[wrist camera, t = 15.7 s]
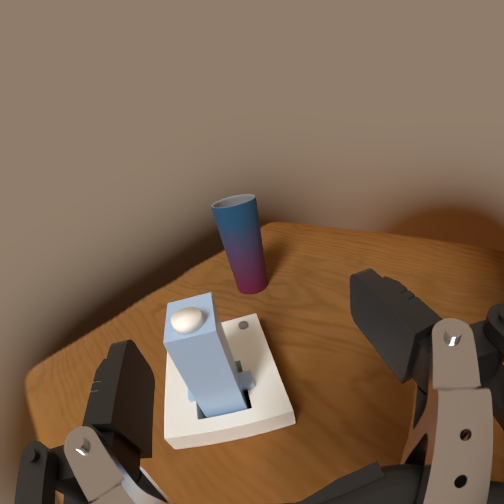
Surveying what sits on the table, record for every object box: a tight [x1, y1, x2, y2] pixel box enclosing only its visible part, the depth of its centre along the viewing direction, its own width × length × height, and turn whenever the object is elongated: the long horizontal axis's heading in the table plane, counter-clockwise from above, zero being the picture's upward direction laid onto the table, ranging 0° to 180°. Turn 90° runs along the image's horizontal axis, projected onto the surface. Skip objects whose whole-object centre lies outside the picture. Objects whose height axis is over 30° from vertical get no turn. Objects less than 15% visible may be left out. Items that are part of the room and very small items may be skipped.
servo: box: [163, 292, 255, 418], centre depth 23 cm, size 6×7×13 cm
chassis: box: [164, 313, 296, 449], centre depth 28 cm, size 16×12×3 cm
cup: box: [211, 194, 267, 294], centre depth 44 cm, size 7×7×15 cm
